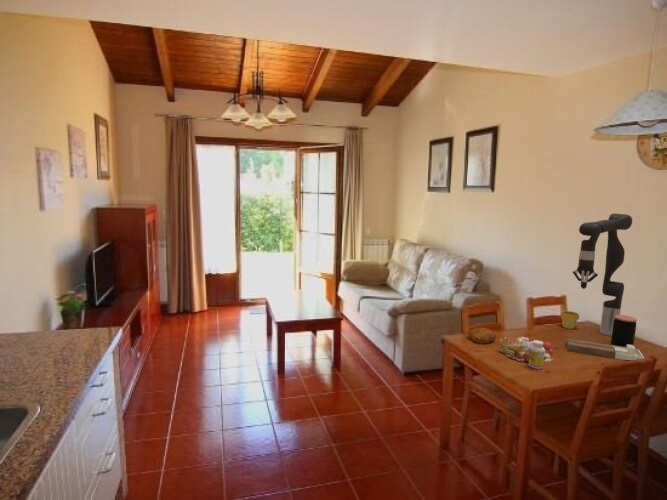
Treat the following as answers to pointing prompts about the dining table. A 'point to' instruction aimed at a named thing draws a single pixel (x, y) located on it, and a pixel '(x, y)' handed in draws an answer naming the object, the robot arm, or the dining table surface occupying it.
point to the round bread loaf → (482, 335)
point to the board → (590, 347)
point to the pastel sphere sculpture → (523, 349)
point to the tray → (628, 357)
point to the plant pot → (569, 319)
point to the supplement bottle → (536, 355)
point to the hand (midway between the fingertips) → (583, 288)
